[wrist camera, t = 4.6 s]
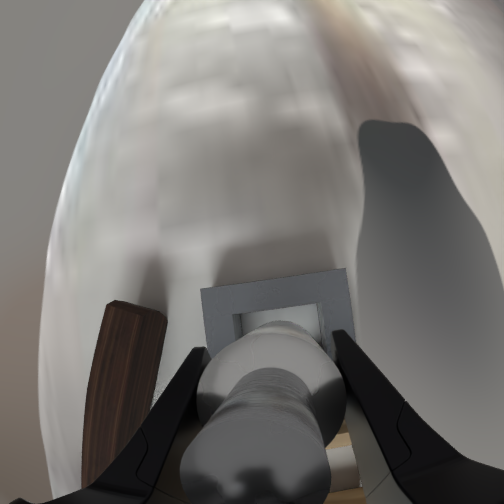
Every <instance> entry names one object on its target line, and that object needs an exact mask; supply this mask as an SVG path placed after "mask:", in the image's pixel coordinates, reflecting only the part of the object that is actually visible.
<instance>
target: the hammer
mask: <svg viewBox="0 0 504 504" xmlns="http://www.w3.org/2000/svg"><path fill="white" fill-rule="evenodd" d="M167 323H168V322H167V319H166V317H165V316H164V315H163V314H162V313H161V312H159V311H155V310H152V309H148V308H145V307H141V306H138V305H134V304H131V303H128V302H124V301H118V300H114V301H112V302H110V303H108V304H107V305H106V308H105V312H104V316H103V320H102V324H101V328H100V332H99V336H98V340H97V344H96V349H95V353H94V357H93V362H92V367H91V372H90V377H89V382H88V387H87V394H86V403H85V414H84V426H83V442H82V479H81V482H82V489H83V488H85V487H87V486H88V485H90V484H91V483H93V482H94V481H95V480H96V479H97V478H98V477H99V476H100V475H101V474H102V473H103V471H104V470H105V469H106V468H107V467H108V466H109V465H110V464H111V462H112V461H113V460H114V459H115V458H116V457H117V456H118V454H119V453H120V452H121V451H122V450H123V448H124V447H125V446H126V445H127V443H128V442H129V440H130V439H131V438H132V436H133V435H134V434H135V432H136V431H137V429H138V428H139V427H141V424H142V422H143V421H144V419H145V418H146V416H147V415H148V413H149V411H150V407H151V403H152V399H153V394H154V389H155V384H156V379H157V374H158V369H159V364H160V360H161V355H162V350H163V344H164V339H165V334H166V328H167Z"/></svg>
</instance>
